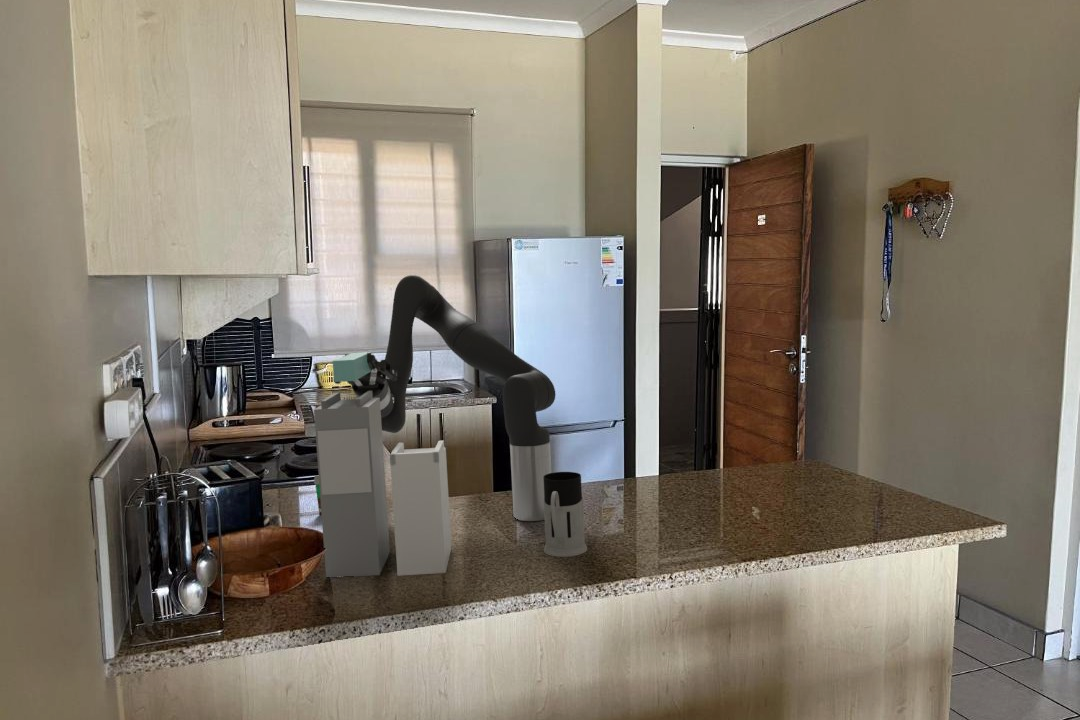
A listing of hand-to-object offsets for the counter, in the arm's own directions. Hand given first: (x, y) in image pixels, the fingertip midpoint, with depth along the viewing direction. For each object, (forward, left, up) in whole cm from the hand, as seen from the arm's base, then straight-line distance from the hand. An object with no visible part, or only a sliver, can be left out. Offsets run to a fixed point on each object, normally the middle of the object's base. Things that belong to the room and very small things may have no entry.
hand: (357, 357), depth 167 cm
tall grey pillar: (0, +12, -40) cm, 42 cm away
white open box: (-13, +12, -40) cm, 44 cm away
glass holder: (-40, +13, -40) cm, 58 cm away
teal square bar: (0, +5, -3) cm, 6 cm away
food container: (+13, -31, -40) cm, 53 cm away
